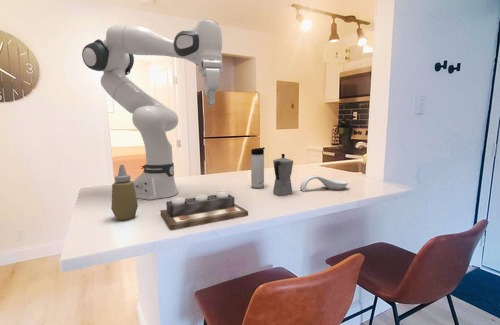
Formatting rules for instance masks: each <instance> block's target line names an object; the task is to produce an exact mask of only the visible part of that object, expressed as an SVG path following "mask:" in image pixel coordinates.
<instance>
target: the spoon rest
mask: <svg viewBox="0 0 500 325" xmlns="http://www.w3.org/2000/svg"><path fill="white" fill-rule="evenodd" d="M315 179H317V180H319V181H320V182H321V184H322V185H324V187H325V188H327V190H331V189H335V190H334V191H340V190H342V189H344V188H346V187H347V186H348V185H349V182H348V181H345V180H341V179H332V178H324V177H323V176H318V175H316V174H315V175H314V174H313V175H308V176H307V177H306V178H304V179H303V181H302V182H301V184H300V185H299V190H300V191H301V190H302V192H303V191H304V192H303V193H306V192H307V191H306V190H307V185H308V183H309V182H310V181H312V180H315ZM339 189H340V190H339Z"/></svg>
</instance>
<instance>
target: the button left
mask: <svg viewBox="0 0 500 325" xmlns="http://www.w3.org/2000/svg"><path fill="white" fill-rule="evenodd" d="M185 199H186V197H185V196H172V198H171V199H170V201H171V202H172V206H174V205H180V204H185Z"/></svg>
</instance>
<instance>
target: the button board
mask: <svg viewBox="0 0 500 325" xmlns="http://www.w3.org/2000/svg"><path fill="white" fill-rule="evenodd" d="M207 196H208V201H201V202H196V201H195V197H190V198H185V204H180V205H174V206H172V202H171V200H169V201H168V200H167V201H166V202H165V203H166V205H165V206H166V209H163V210H161V209H160V216H161V217H162V219H163V221H164V222H165V223H166V225H167V227H168V228H169V229H170V231H173V230H174V231H175V230H179V229H184V228H185V229H186V228H190V227H195V226H199V225H206V224H210V223H211V224H212V223H216V222H220V221H221V222H222V221H226V220H232V219H238V218H241V217H242V218H243V217H248V216H249V211H248V210H246V209H245V208H243V207H242V206H240V205H238V204H236V203H235V196H233V195H231V194H230V193H228V198H221V199H218V198H216V194H211V195H207Z"/></svg>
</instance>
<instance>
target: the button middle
mask: <svg viewBox="0 0 500 325" xmlns="http://www.w3.org/2000/svg"><path fill="white" fill-rule="evenodd" d="M208 196H209V195H208V194H207V193H197V194H195V195H194V198H195V201H196V202H201V201H208Z"/></svg>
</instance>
